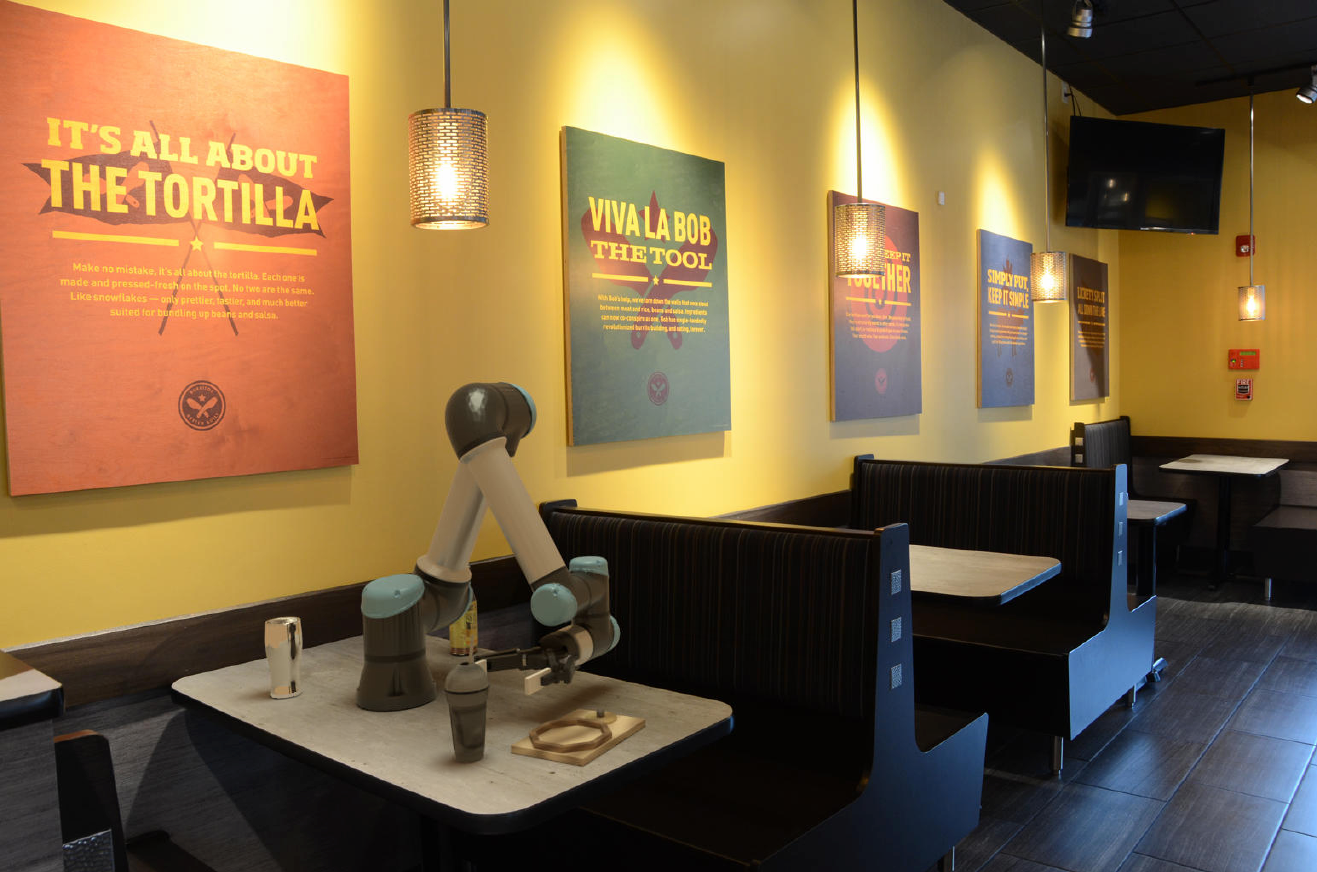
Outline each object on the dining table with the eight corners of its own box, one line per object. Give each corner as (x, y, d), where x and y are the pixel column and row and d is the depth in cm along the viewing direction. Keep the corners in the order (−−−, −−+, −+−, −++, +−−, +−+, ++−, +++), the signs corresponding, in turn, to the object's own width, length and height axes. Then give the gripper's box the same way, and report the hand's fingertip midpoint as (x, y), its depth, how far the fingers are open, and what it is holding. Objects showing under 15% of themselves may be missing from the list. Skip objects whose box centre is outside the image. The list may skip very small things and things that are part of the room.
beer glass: (259, 698, 192) (256, 623, 191) (285, 687, 198) (281, 615, 197) (287, 701, 189) (283, 625, 188) (312, 691, 196) (308, 617, 195)
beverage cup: (449, 750, 160) (445, 631, 160) (494, 747, 161) (489, 629, 160) (443, 767, 153) (439, 642, 152) (490, 764, 154) (485, 640, 153)
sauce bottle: (471, 656, 218) (468, 569, 217) (445, 656, 219) (442, 569, 218) (482, 649, 224) (479, 564, 223) (457, 648, 225) (454, 564, 224)
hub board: (511, 752, 159) (510, 734, 159) (578, 715, 176) (578, 698, 176) (583, 766, 152) (582, 747, 152) (645, 725, 169) (644, 709, 169)
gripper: (622, 677, 174) (556, 713, 156) (510, 662, 186) (436, 694, 167) (621, 636, 174) (554, 667, 155) (508, 624, 186) (434, 651, 167)
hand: (493, 681), depth 161 cm, fingers open, 13 cm apart
